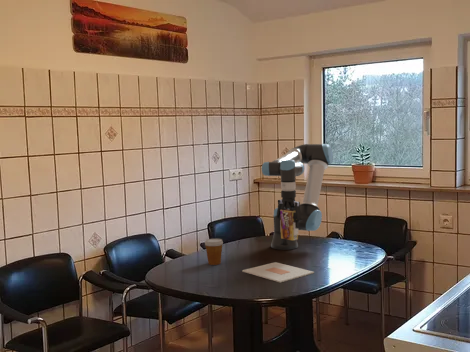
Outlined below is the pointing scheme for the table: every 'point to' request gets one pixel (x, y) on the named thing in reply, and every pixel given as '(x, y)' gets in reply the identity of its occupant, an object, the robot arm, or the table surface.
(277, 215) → the robot arm
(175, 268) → the table surface
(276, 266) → the mat
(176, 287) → the table surface
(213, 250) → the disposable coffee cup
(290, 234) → the candy box
